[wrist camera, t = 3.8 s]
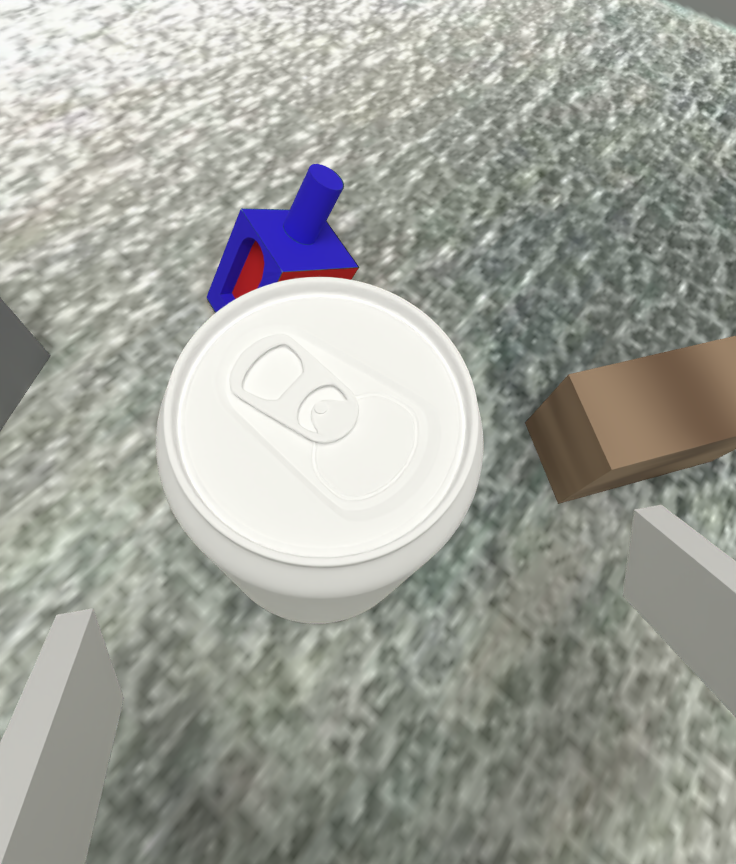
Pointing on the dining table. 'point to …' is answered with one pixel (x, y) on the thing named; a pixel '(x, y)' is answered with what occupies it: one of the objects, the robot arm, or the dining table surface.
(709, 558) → the robot arm
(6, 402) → the grey cube
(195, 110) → the dining table surface
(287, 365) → the beverage can
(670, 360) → the walnut brick
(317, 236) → the toy building block
